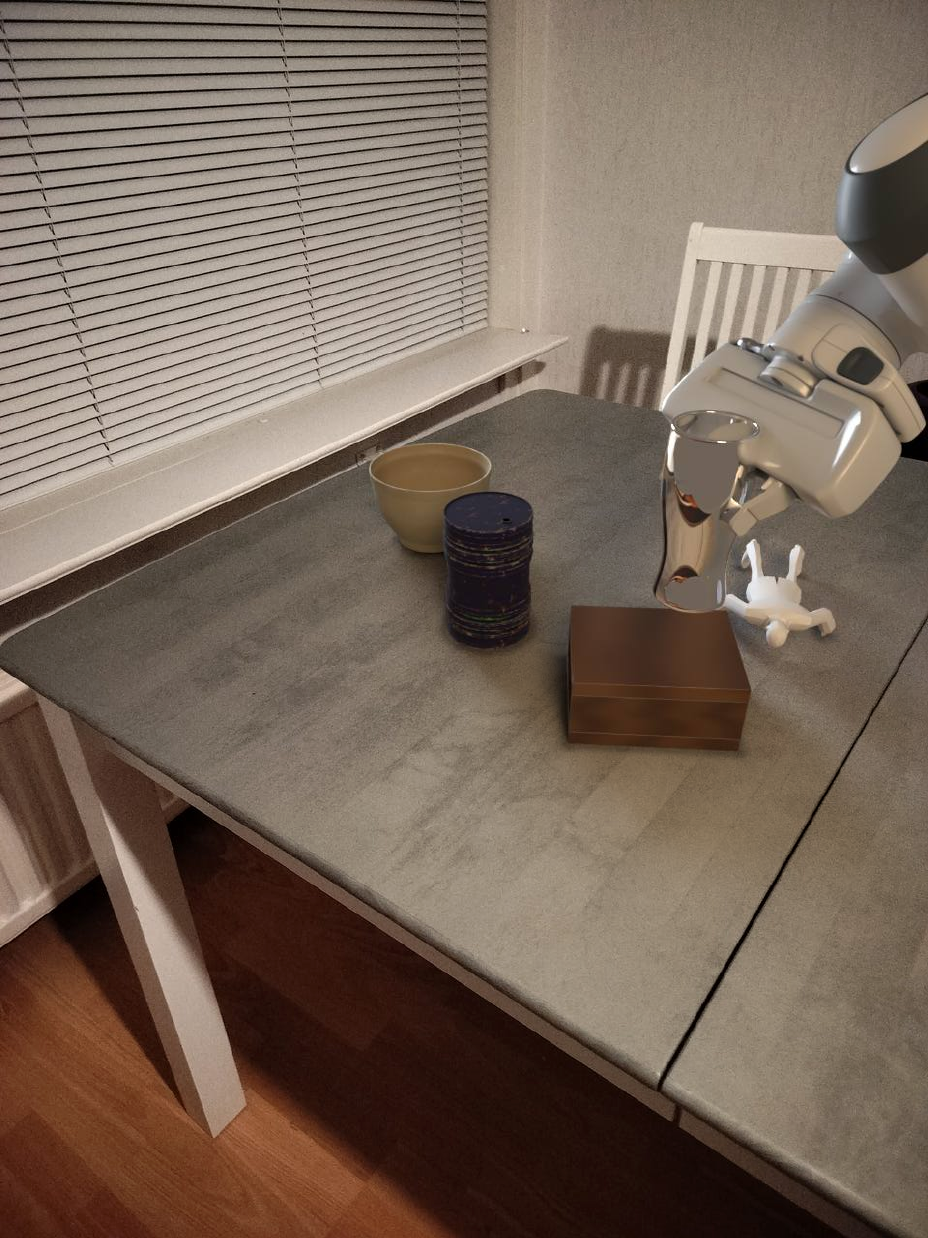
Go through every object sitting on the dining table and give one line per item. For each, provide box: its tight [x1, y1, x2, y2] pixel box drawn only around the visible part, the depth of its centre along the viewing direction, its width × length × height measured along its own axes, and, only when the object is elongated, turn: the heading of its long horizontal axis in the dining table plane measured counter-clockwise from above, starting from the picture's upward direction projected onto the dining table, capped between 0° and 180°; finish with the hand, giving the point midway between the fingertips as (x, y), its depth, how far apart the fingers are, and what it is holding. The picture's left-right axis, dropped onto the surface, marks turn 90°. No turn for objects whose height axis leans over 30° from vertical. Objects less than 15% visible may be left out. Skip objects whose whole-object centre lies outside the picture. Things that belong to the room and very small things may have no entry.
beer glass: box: [652, 410, 762, 613], centre depth 66 cm, size 7×7×15 cm
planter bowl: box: [368, 442, 493, 554], centre depth 111 cm, size 16×16×11 cm
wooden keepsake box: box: [566, 604, 752, 752], centre depth 82 cm, size 16×13×8 cm
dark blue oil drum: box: [443, 490, 535, 651], centre depth 92 cm, size 10×10×15 cm
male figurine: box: [716, 538, 837, 648], centre depth 94 cm, size 14×6×25 cm
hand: (697, 507), depth 65 cm, fingers closed on beer glass, 7 cm apart
